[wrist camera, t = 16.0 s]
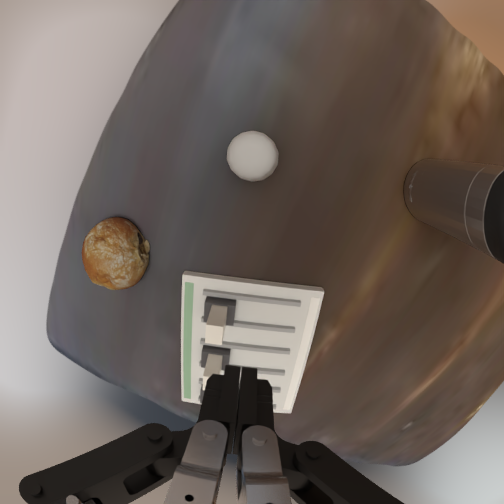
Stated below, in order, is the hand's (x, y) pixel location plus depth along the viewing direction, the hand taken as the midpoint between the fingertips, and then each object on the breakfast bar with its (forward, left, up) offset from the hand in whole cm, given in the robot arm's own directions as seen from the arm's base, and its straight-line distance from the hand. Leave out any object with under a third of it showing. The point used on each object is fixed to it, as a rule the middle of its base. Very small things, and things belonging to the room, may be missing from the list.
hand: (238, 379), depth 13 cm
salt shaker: (+1, -10, -27) cm, 29 cm away
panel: (-1, +18, -27) cm, 32 cm away
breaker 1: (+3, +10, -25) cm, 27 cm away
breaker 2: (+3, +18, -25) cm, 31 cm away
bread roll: (+19, +5, -27) cm, 34 cm away
